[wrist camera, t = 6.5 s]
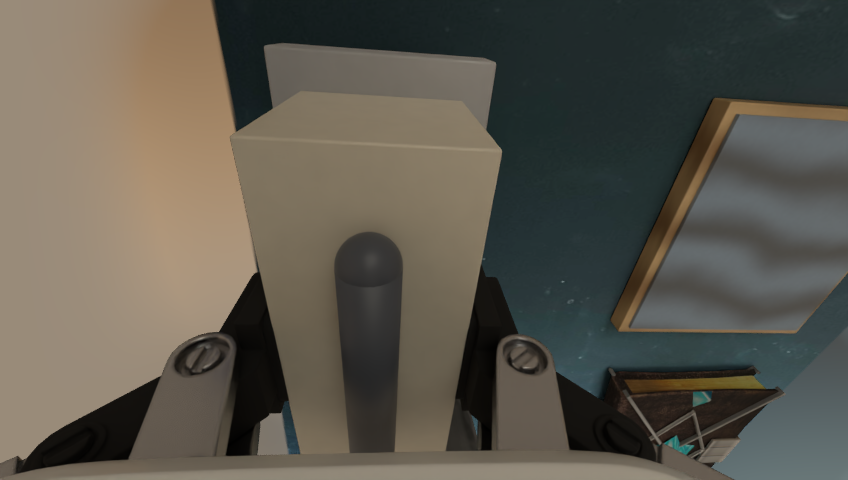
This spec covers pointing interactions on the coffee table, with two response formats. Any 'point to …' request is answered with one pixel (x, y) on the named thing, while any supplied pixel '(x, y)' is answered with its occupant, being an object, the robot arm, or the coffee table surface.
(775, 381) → the coffee table surface
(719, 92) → the coffee table surface
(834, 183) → the board
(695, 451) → the book
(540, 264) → the coffee table surface
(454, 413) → the beverage cup
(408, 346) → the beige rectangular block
